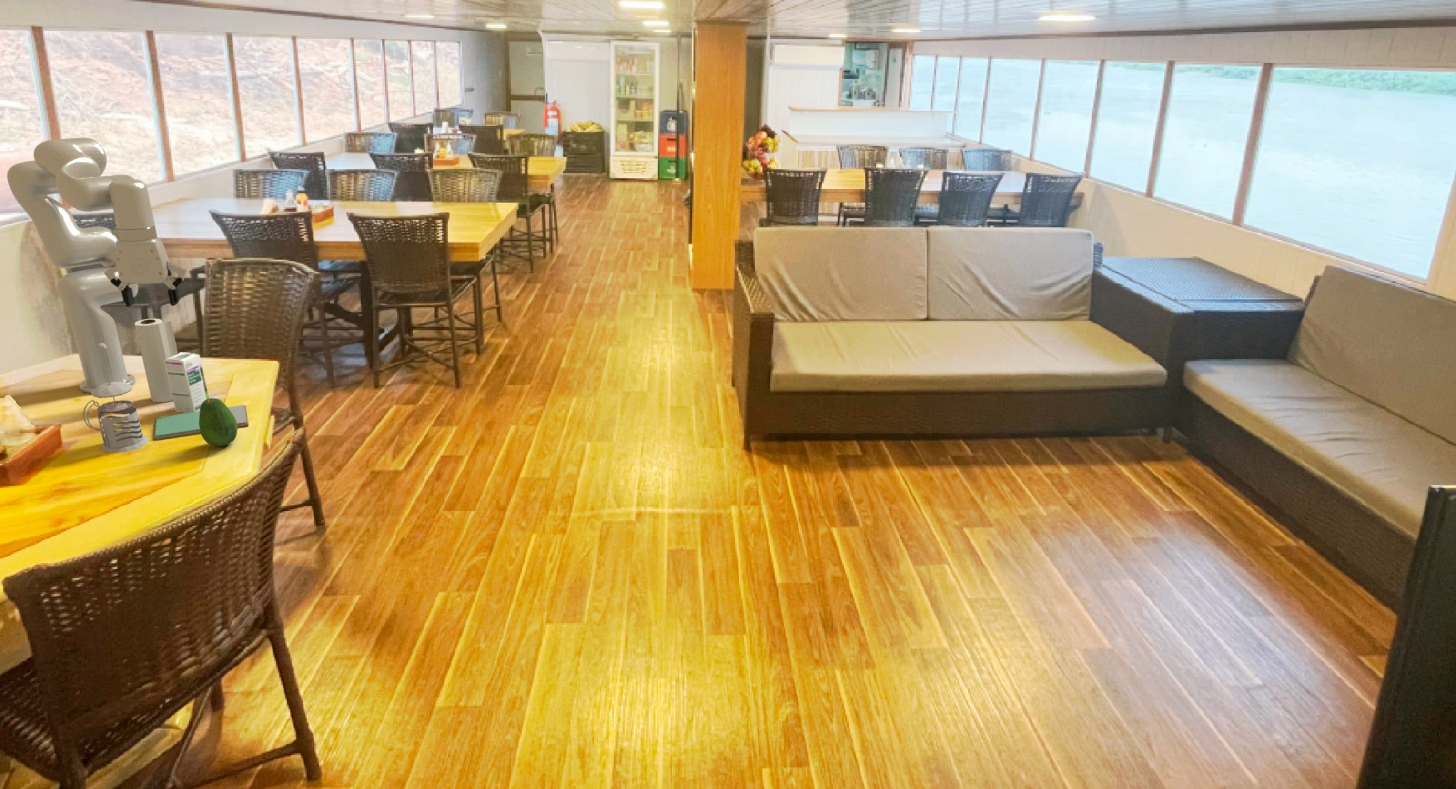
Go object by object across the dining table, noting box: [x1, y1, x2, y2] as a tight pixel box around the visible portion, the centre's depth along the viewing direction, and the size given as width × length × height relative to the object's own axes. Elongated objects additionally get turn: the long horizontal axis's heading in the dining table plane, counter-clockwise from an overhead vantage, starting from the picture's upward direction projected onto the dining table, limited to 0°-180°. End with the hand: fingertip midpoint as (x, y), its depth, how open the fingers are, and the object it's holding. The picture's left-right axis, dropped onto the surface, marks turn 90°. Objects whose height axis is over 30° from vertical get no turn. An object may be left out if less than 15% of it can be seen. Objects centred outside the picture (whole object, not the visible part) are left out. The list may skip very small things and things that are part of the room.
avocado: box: [199, 397, 238, 447], centre depth 212 cm, size 8×8×12 cm
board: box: [153, 404, 249, 441], centre depth 225 cm, size 13×20×1 cm, turn 119°
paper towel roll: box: [134, 318, 179, 403], centre depth 234 cm, size 7×6×21 cm
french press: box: [82, 343, 150, 454], centre depth 208 cm, size 10×12×25 cm
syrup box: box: [164, 351, 210, 414], centre depth 230 cm, size 6×6×14 cm
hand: (152, 304), depth 217 cm, fingers open, 9 cm apart
